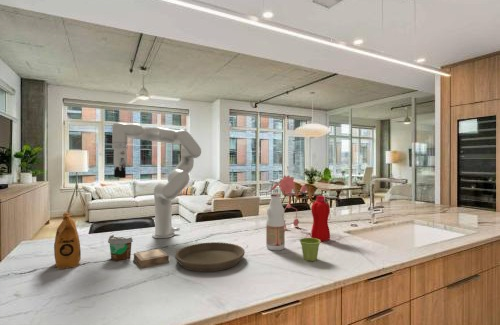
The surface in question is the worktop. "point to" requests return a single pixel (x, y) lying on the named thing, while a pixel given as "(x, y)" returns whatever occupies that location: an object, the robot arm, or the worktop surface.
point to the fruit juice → (275, 224)
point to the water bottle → (320, 219)
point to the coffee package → (67, 244)
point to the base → (151, 258)
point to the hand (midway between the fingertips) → (119, 177)
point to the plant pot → (310, 248)
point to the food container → (120, 248)
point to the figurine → (287, 186)
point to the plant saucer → (209, 256)
